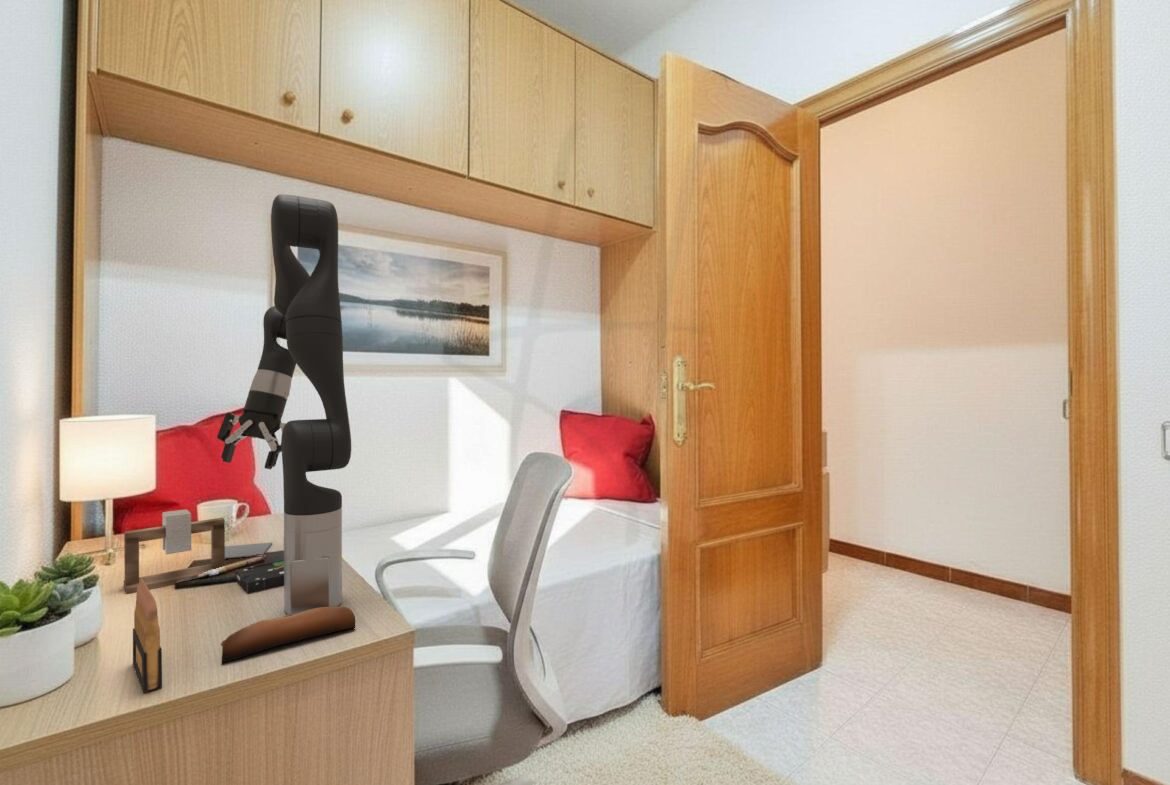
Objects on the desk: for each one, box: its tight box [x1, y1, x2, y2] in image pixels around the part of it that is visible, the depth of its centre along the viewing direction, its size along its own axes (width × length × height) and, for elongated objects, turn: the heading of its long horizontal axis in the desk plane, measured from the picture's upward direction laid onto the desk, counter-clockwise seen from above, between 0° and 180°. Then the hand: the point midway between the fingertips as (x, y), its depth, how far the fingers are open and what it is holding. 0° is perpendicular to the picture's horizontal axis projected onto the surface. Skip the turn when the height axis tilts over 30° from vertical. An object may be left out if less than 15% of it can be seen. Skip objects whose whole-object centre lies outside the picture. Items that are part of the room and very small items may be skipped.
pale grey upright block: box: [161, 508, 192, 556], centre depth 108 cm, size 4×5×8 cm
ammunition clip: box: [132, 579, 163, 694], centre depth 72 cm, size 11×2×12 cm, turn 46°
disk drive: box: [234, 559, 284, 595], centre depth 109 cm, size 10×3×15 cm
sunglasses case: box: [220, 606, 356, 664], centre depth 83 cm, size 18×7×7 cm
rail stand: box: [123, 517, 226, 595], centre depth 108 cm, size 16×6×11 cm, turn 135°
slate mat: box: [225, 542, 273, 559], centre depth 126 cm, size 10×10×1 cm
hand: (247, 465), depth 115 cm, fingers open, 8 cm apart
